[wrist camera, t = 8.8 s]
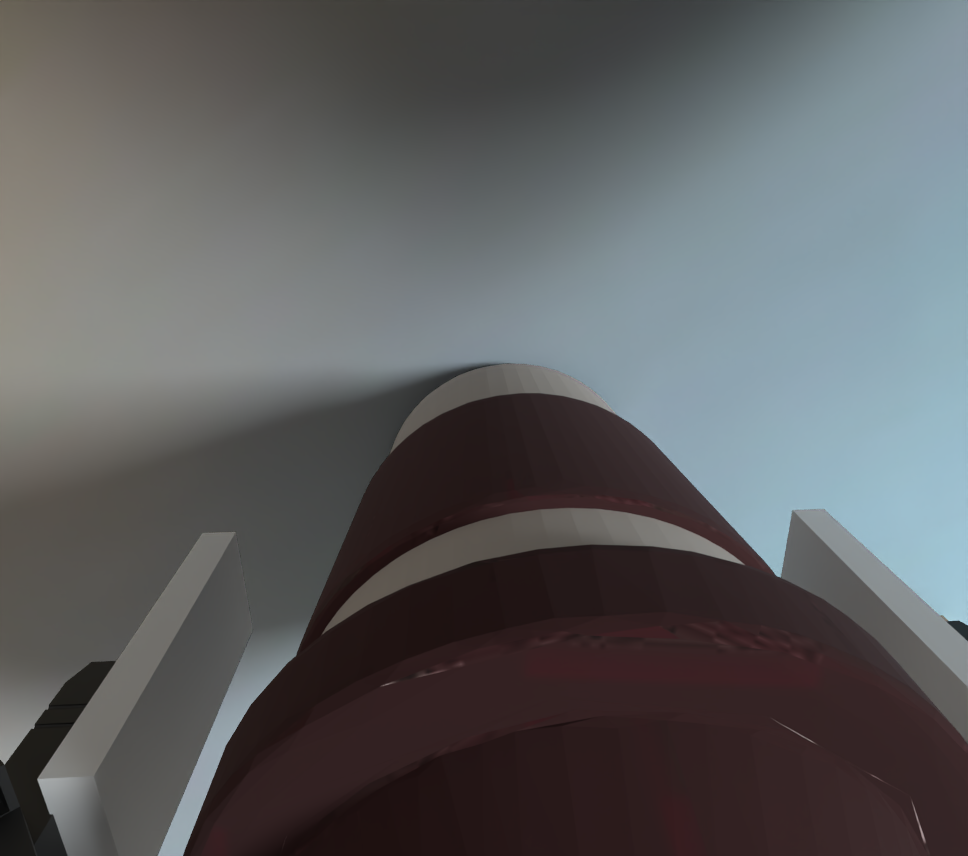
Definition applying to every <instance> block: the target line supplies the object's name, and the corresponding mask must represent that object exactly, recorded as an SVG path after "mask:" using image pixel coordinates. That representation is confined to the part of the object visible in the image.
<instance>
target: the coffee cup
mask: <svg viewBox="0 0 968 856" xmlns="http://www.w3.org/2000/svg"><path fill="white" fill-rule="evenodd" d="M183 856H968V744H967V742H966V741H965V740H964V738H963V737H962V736H961V734H960V733H959V732H958V731H957V730H956V728H955V727H954V726H953V725H952V724H951V723H950V722H949V720H948V719H947V718H946V717H945V716H944V715H943V714H942V712H941V711H940V710H939V709H938V708H937V707H936V706H935V704H934V703H933V702H932V701H931V700H930V699H929V698H928V696H927V695H926V694H925V693H924V692H923V691H922V690H921V688H920V687H919V686H918V685H917V684H916V683H915V682H914V680H913V679H912V678H911V677H910V676H909V675H908V674H907V672H906V671H905V670H904V669H903V668H902V667H901V666H900V664H899V663H898V662H897V661H896V660H895V659H894V658H893V657H892V656H891V655H890V654H889V653H888V651H887V650H886V649H885V648H884V647H883V646H882V645H881V644H880V643H879V642H878V641H877V640H876V639H875V638H874V637H873V636H871V635H870V634H869V633H868V632H867V631H865V630H864V629H863V628H862V627H860V626H859V625H858V624H857V623H856V622H854V621H853V620H852V619H851V618H849V617H848V616H847V615H845V614H844V613H843V612H841V611H840V610H838V609H837V608H835V607H834V606H833V605H831V604H830V603H828V602H827V601H825V600H824V599H822V598H820V597H818V596H816V595H814V594H812V593H810V592H809V591H807V590H805V589H803V588H801V587H799V586H797V585H795V584H793V583H791V582H789V581H787V580H785V579H783V578H780V577H777V576H776V575H775V574H774V572H773V571H772V570H771V569H770V567H769V566H768V565H767V564H766V563H765V562H764V560H763V559H762V558H761V557H760V556H759V555H758V554H757V553H756V552H755V551H754V550H753V549H752V548H751V547H750V546H749V544H748V543H747V542H746V541H745V540H744V539H743V538H742V537H741V536H740V535H739V534H738V533H737V532H736V531H735V529H734V528H733V527H732V526H731V525H730V524H729V523H728V522H727V521H726V520H725V519H724V518H723V517H722V516H721V515H720V513H719V512H718V511H717V510H716V509H715V508H714V507H713V506H712V505H711V504H710V503H709V502H708V501H707V500H706V498H705V497H704V496H703V495H702V494H701V493H700V492H699V491H698V490H697V489H696V488H695V487H694V486H693V485H692V484H691V482H690V481H689V480H688V479H687V478H686V477H685V476H684V475H683V474H682V473H681V472H680V471H679V470H678V469H677V467H676V466H675V465H674V464H673V463H672V462H671V461H670V460H669V459H668V458H667V457H666V456H665V455H664V454H663V453H662V451H661V450H660V449H659V448H658V447H657V446H656V445H655V444H654V443H653V442H652V441H651V440H650V439H649V438H648V437H647V436H645V435H644V434H643V433H642V432H641V431H639V430H638V429H637V428H635V427H634V426H633V425H631V424H630V423H629V422H627V421H625V420H624V419H622V418H620V417H619V416H617V415H616V414H615V412H614V411H613V410H612V409H611V408H610V407H609V406H608V404H607V403H606V402H605V401H604V400H603V399H602V398H601V397H600V396H599V395H598V394H596V393H595V392H594V391H593V390H592V389H590V388H589V387H587V386H586V385H584V384H583V383H581V382H580V381H578V380H576V379H574V378H572V377H570V376H568V375H566V374H563V373H561V372H559V371H556V370H552V369H548V368H545V367H541V366H534V365H528V364H500V365H492V366H487V367H483V368H478V369H475V370H472V371H469V372H466V373H464V374H461V375H458V376H456V377H455V378H453V379H451V380H449V381H448V382H446V383H444V384H443V385H441V386H440V387H438V388H437V389H435V390H434V391H433V392H431V393H430V394H429V395H427V396H426V397H425V398H424V399H423V400H422V401H421V402H420V403H419V404H418V405H417V406H416V407H415V408H414V409H413V411H412V412H411V413H410V415H409V416H408V418H407V419H406V420H405V422H404V423H403V425H402V427H401V429H400V431H399V432H398V434H397V437H396V439H395V442H394V444H393V447H392V449H391V452H390V454H389V456H388V457H387V458H386V460H385V461H384V462H383V463H382V465H381V466H380V468H379V469H378V471H377V472H376V474H375V475H374V477H373V478H372V480H371V482H370V483H369V485H368V487H367V489H366V491H365V493H364V495H363V498H362V500H361V503H360V505H359V507H358V510H357V512H356V514H355V517H354V519H353V521H352V524H351V526H350V528H349V531H348V533H347V535H346V538H345V540H344V542H343V545H342V547H341V549H340V552H339V554H338V556H337V559H336V561H335V563H334V566H333V568H332V570H331V573H330V575H329V578H328V580H327V582H326V585H325V587H324V589H323V592H322V594H321V596H320V599H319V601H318V603H317V606H316V608H315V610H314V613H313V615H312V617H311V620H310V622H309V624H308V627H307V629H306V632H305V634H304V636H303V639H302V641H301V644H300V646H299V649H298V651H297V655H296V657H294V658H293V659H292V660H291V661H290V662H288V663H287V664H286V666H285V667H284V668H283V669H282V670H281V671H280V672H279V674H278V675H277V676H276V677H275V678H274V679H273V680H272V681H271V683H270V684H269V685H268V686H267V687H266V688H265V689H264V691H263V692H262V693H261V694H260V695H259V696H258V697H257V698H256V700H255V701H254V702H253V703H252V704H251V706H250V707H249V709H248V710H247V712H246V714H245V715H244V717H243V719H242V720H241V722H240V724H239V725H238V727H237V729H236V730H235V732H234V734H233V735H232V737H231V738H230V740H229V742H228V743H227V745H226V747H225V750H224V752H223V755H222V758H221V760H220V763H219V765H218V768H217V770H216V773H215V775H214V778H213V780H212V783H211V785H210V788H209V791H208V793H207V796H206V798H205V801H204V803H203V806H202V808H201V811H200V813H199V816H198V818H197V821H196V823H195V826H194V829H193V831H192V834H191V836H190V839H189V841H188V844H187V846H186V849H185V852H184V855H183Z"/></svg>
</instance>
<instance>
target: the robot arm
mask: <svg viewBox="0 0 968 856" xmlns="http://www.w3.org/2000/svg"><path fill="white" fill-rule="evenodd" d="M781 578H783V579H785V580H787V581H789V582H791V583H793V584H795V585H797V586H799V587H801V588H803V589H805V590H807V591H809V592H810V593H812V594H814V595H816V596H818V597H820V598H822V599H824V600H825V601H827V602H828V603H830V604H831V605H833V606H834V607H835V608H837V609H838V610H840V611H841V612H843V613H844V614H845V615H847V616H848V617H849V618H851V619H852V620H853V621H854V622H856V623H857V624H858V625H859V626H860V627H862V628H863V629H864V630H865V631H867V632H868V633H869V634H870V635H871V636H873V637H874V638H875V639H876V640H877V641H878V642H879V643H880V644H881V645H882V646H883V647H884V648H885V649H886V650H887V651H888V653H889V654H890V655H891V656H892V657H893V658H894V659H895V660H896V661H897V662H898V663H899V664H900V666H901V667H902V668H903V669H904V670H905V671H906V672H907V674H908V675H909V676H910V677H911V678H912V679H913V680H914V682H915V683H916V684H917V685H918V686H919V687H920V688H921V690H922V691H923V692H924V693H925V694H926V695H927V696H928V698H929V699H930V700H931V701H932V702H933V703H934V704H935V706H936V707H937V708H938V709H939V710H940V711H941V712H942V714H943V715H944V716H945V717H946V718H947V719H948V720H949V722H950V723H951V724H952V725H953V726H954V727H955V728H956V730H957V731H958V732H959V733H960V734H961V736H962V737H963V738H964V740H965V741H966V742H967V744H968V625H966V624H964V623H962V622H960V621H945V620H944V619H943V618H942V617H941V616H940V615H939V614H938V613H936V612H935V611H934V610H933V609H932V608H931V607H930V606H929V605H928V604H927V603H926V602H924V601H923V600H922V599H921V598H920V597H919V596H918V595H917V594H916V593H915V592H914V591H913V590H911V589H910V588H909V587H908V586H907V585H906V584H905V583H904V582H903V581H902V580H901V579H899V578H898V577H897V576H896V575H895V574H894V573H893V572H892V571H891V570H890V569H889V568H888V567H886V566H885V565H884V564H883V563H882V562H881V561H880V560H879V559H878V558H877V557H876V556H874V555H873V554H872V553H871V552H870V551H869V550H868V549H867V548H866V547H865V546H864V545H863V544H861V543H860V542H859V541H858V540H857V539H856V538H855V537H854V536H853V535H852V534H851V533H849V532H848V531H847V530H846V529H845V528H844V527H843V526H842V525H841V524H840V523H839V522H838V521H836V520H835V519H834V518H833V517H832V516H831V515H830V514H829V513H828V512H827V511H826V510H824V509H811V510H792V516H791V522H790V528H789V534H788V539H787V545H786V551H785V557H784V562H783V568H782V574H781ZM252 631H253V626H252V620H251V614H250V608H249V603H248V597H247V591H246V586H245V580H244V574H243V569H242V563H241V557H240V552H239V546H238V540H237V535H236V532H217V533H202V534H201V536H200V537H199V539H198V540H197V542H196V543H195V545H194V546H193V548H192V549H191V551H190V552H189V554H188V555H187V557H186V558H185V560H184V561H183V563H182V564H181V566H180V567H179V569H178V570H177V572H176V573H175V575H174V576H173V578H172V579H171V581H170V582H169V584H168V585H167V586H166V588H165V589H164V591H163V592H162V594H161V595H160V597H159V598H158V600H157V601H156V603H155V604H154V606H153V607H152V609H151V610H150V612H149V613H148V615H147V616H146V618H145V619H144V621H143V622H142V624H141V625H140V627H139V628H138V630H137V631H136V633H135V634H134V636H133V637H132V639H131V640H130V642H129V643H128V645H127V646H126V648H125V649H124V651H123V652H122V653H121V655H120V656H119V658H118V659H117V661H106V662H91V663H90V664H89V665H87V666H86V667H85V668H84V669H82V670H81V671H80V672H78V673H77V674H76V675H75V676H73V677H72V678H71V679H70V680H68V681H67V682H66V683H65V684H64V686H63V687H62V688H61V690H60V691H59V692H58V694H57V695H56V696H55V698H54V699H53V700H52V702H51V703H50V704H49V709H48V710H45V711H44V712H43V714H42V715H41V717H40V718H39V719H38V721H37V722H36V723H35V728H34V729H31V730H30V731H29V733H28V734H27V735H26V737H25V738H24V739H23V741H22V742H21V743H20V745H19V746H18V748H17V749H16V750H15V752H14V753H13V754H12V756H11V757H10V758H9V760H8V761H7V762H6V764H5V765H4V764H3V762H2V761H1V760H0V856H157V855H158V853H159V851H160V848H161V846H162V844H163V841H164V839H165V836H166V834H167V832H168V829H169V827H170V825H171V822H172V820H173V818H174V815H175V813H176V811H177V808H178V806H179V803H180V801H181V799H182V796H183V794H184V792H185V789H186V787H187V785H188V782H189V780H190V777H191V775H192V773H193V770H194V768H195V766H196V763H197V761H198V759H199V756H200V754H201V751H202V749H203V747H204V744H205V742H206V740H207V737H208V735H209V733H210V730H211V728H212V725H213V723H214V721H215V718H216V716H217V714H218V711H219V709H220V707H221V704H222V702H223V699H224V697H225V695H226V692H227V690H228V688H229V685H230V683H231V681H232V678H233V676H234V673H235V671H236V669H237V666H238V664H239V662H240V659H241V657H242V655H243V652H244V650H245V647H246V645H247V643H248V640H249V638H250V636H251V633H252Z"/></svg>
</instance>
